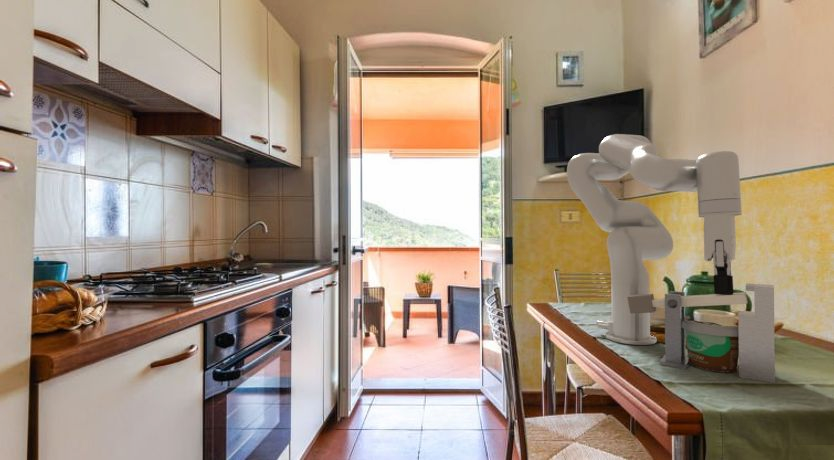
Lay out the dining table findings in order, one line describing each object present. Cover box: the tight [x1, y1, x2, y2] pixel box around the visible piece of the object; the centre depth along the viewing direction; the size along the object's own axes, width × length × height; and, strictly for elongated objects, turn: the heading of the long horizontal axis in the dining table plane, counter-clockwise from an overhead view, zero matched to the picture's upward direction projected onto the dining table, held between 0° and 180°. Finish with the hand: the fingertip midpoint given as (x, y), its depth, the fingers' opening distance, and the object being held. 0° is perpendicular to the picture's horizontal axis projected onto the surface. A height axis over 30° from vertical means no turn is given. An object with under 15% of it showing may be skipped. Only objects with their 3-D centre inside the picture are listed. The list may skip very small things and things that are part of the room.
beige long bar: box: [627, 291, 748, 314], centre depth 93 cm, size 22×4×4 cm, turn 49°
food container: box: [681, 315, 739, 373], centre depth 90 cm, size 12×6×10 cm, turn 21°
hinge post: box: [659, 290, 690, 370], centre depth 94 cm, size 5×8×16 cm, turn 139°
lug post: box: [737, 283, 776, 384], centre depth 84 cm, size 6×5×19 cm
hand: (723, 294), depth 87 cm, fingers closed
